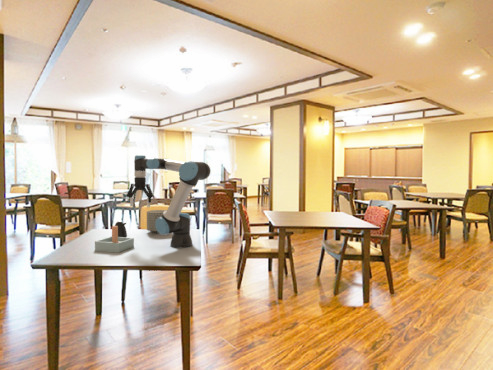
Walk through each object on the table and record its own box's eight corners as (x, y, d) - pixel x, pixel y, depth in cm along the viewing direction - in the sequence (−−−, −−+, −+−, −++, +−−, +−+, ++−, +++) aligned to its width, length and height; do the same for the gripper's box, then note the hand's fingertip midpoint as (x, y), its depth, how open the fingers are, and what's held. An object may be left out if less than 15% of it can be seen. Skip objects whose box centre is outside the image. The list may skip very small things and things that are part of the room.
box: (133, 246, 210) (133, 238, 210) (118, 252, 195) (118, 243, 194) (111, 244, 214) (111, 236, 214) (94, 250, 199) (94, 241, 199)
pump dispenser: (121, 244, 217) (121, 222, 216) (108, 243, 219) (108, 222, 218) (130, 240, 227) (130, 220, 226) (117, 240, 229) (117, 219, 228)
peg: (115, 247, 202) (115, 227, 202) (110, 247, 203) (110, 226, 202) (119, 246, 206) (118, 226, 205) (114, 246, 207) (114, 225, 206)
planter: (164, 229, 272) (164, 209, 271) (173, 233, 257) (173, 211, 257) (143, 231, 260) (143, 210, 259) (152, 235, 245) (152, 213, 245)
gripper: (158, 177, 217) (158, 206, 218) (128, 176, 223) (128, 205, 224) (152, 177, 210) (152, 208, 211) (121, 176, 216) (121, 206, 217)
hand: (140, 206), depth 218 cm, fingers open, 13 cm apart
